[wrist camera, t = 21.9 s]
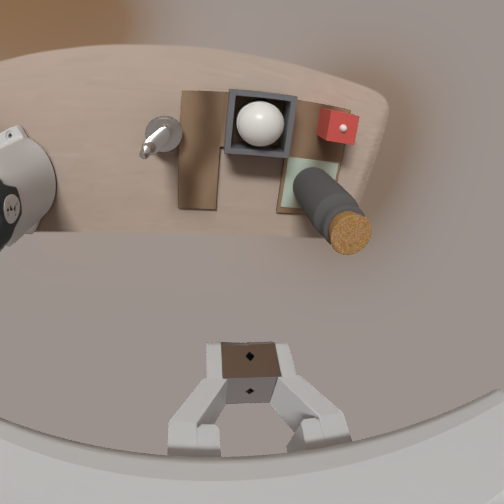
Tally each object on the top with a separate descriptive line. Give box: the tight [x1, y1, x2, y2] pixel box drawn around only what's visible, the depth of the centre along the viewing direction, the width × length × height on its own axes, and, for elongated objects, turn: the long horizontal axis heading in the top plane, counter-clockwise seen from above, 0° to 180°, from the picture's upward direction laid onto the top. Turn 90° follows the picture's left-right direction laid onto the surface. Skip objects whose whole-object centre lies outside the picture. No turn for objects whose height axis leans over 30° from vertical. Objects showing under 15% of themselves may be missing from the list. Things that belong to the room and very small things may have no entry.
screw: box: [140, 116, 182, 159], centre depth 31 cm, size 13×5×5 cm
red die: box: [317, 108, 359, 145], centre depth 35 cm, size 4×4×4 cm
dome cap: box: [235, 100, 284, 146], centre depth 34 cm, size 6×6×6 cm
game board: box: [178, 91, 351, 214], centre depth 39 cm, size 23×17×1 cm
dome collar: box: [224, 89, 298, 158], centre depth 35 cm, size 8×8×4 cm
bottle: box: [293, 167, 372, 255], centre depth 36 cm, size 6×6×15 cm
